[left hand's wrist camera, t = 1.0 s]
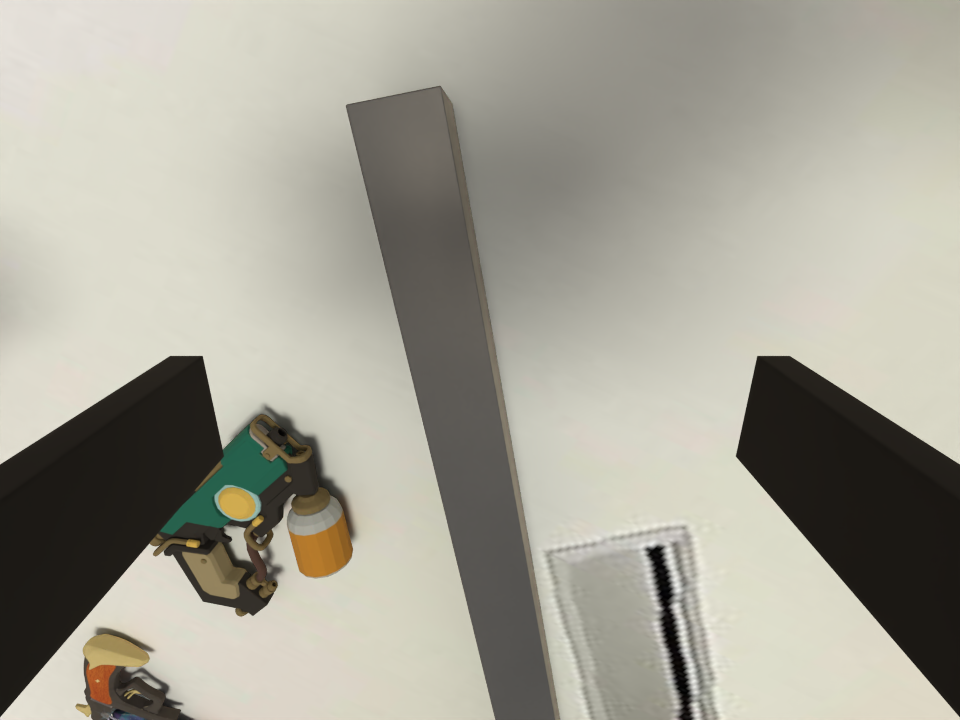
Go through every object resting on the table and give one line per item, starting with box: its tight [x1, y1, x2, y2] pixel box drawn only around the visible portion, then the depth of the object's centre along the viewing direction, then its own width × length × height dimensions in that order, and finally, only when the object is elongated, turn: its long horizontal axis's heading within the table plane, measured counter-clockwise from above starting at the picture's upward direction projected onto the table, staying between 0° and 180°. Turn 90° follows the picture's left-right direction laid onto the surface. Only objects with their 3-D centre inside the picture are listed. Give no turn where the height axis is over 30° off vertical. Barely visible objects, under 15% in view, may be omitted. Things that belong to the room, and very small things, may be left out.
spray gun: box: [150, 414, 353, 616], centre depth 40 cm, size 4×17×15 cm
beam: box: [346, 86, 560, 720], centre depth 39 cm, size 65×4×8 cm, turn 10°
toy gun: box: [75, 634, 181, 720], centre depth 49 cm, size 3×19×10 cm
